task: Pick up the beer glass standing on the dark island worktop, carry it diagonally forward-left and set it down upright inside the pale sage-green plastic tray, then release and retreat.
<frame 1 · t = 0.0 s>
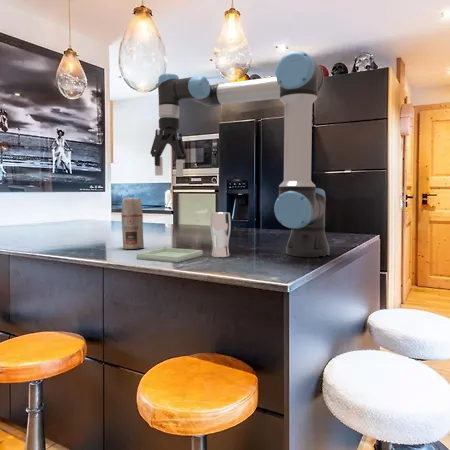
hand: (169, 176, 153), 28 cm above the table, fingers open, 13 cm apart
spray can: (133, 249, 160), on the table
tray: (170, 257, 139), on the table
beer glass: (220, 256, 141), on the table
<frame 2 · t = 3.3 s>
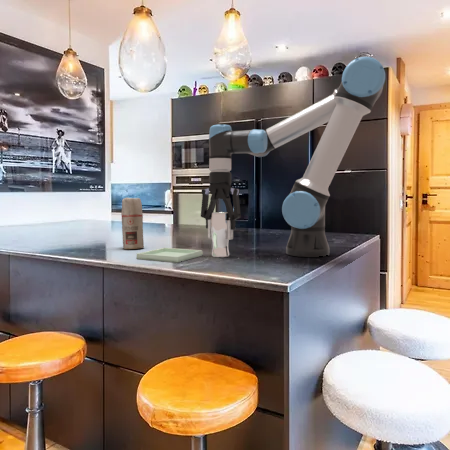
hand: (220, 238, 141), 6 cm above the table, fingers closed on beer glass, 7 cm apart
beer glass: (220, 256, 141), on the table, touching gripper
everything else where it was.
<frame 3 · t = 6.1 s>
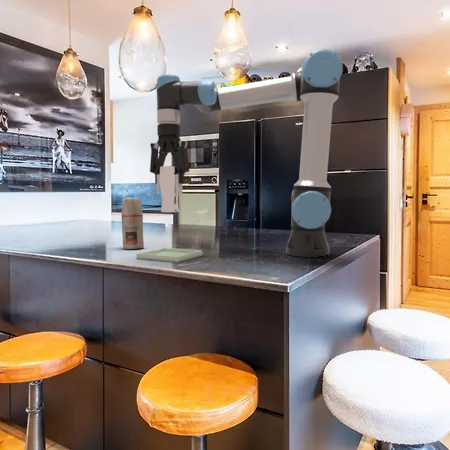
hand: (169, 193, 137), 21 cm above the table, fingers closed on beer glass, 7 cm apart
beer glass: (169, 212, 137), point 15 cm above the table, touching gripper
everything else where it was.
when the fingers open (8 cm above the table, at t = 8.8 s): beer glass drops 1 cm, resting on tray.
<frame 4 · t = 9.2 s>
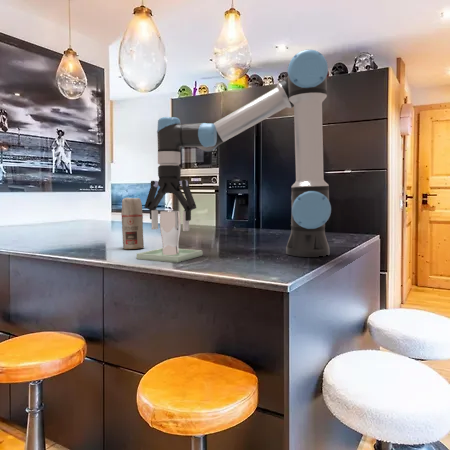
hand: (170, 229, 138), 9 cm above the table, fingers open, 12 cm apart
beer glass: (170, 256, 139), resting on tray
everything else where it was.
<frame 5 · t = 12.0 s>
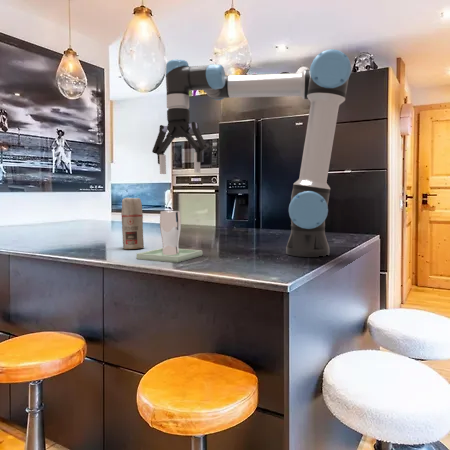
hand: (179, 173, 138), 28 cm above the table, fingers open, 13 cm apart
nothing on the table moved.
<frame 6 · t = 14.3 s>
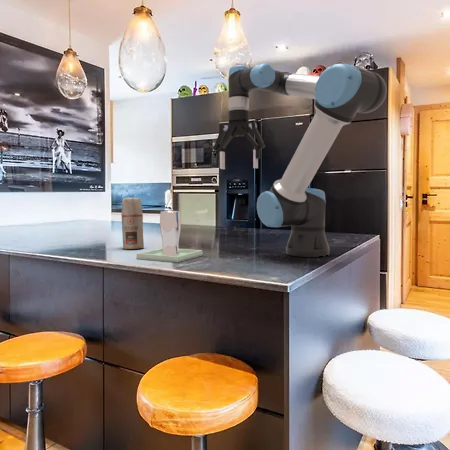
hand: (238, 168, 152), 31 cm above the table, fingers open, 13 cm apart
nothing on the table moved.
at the end: beer glass inside the target area on the tray (0.1 cm from its centre), point 0.4 cm above the tray's base; beer glass tilted 0°; the gripper is holding nothing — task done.
